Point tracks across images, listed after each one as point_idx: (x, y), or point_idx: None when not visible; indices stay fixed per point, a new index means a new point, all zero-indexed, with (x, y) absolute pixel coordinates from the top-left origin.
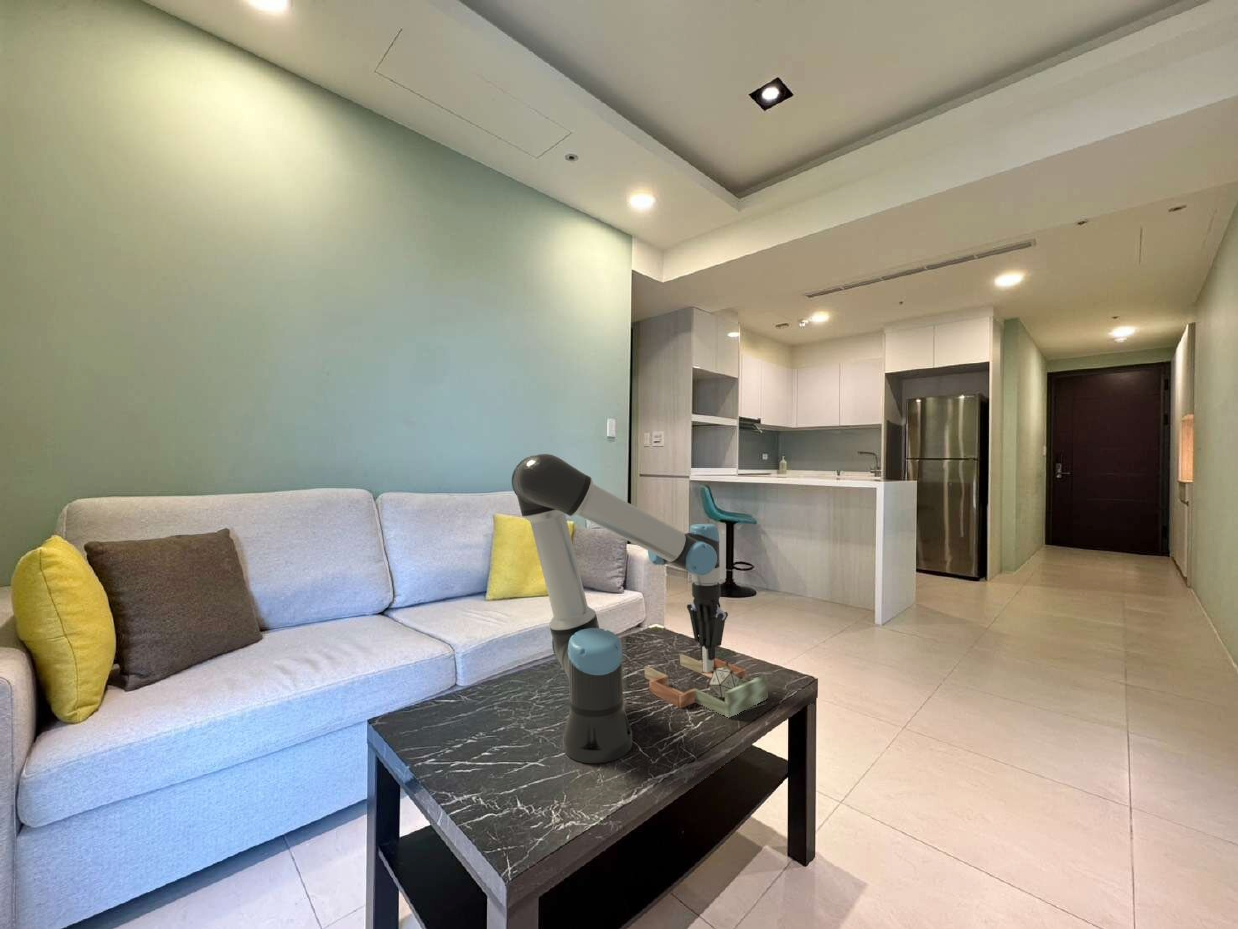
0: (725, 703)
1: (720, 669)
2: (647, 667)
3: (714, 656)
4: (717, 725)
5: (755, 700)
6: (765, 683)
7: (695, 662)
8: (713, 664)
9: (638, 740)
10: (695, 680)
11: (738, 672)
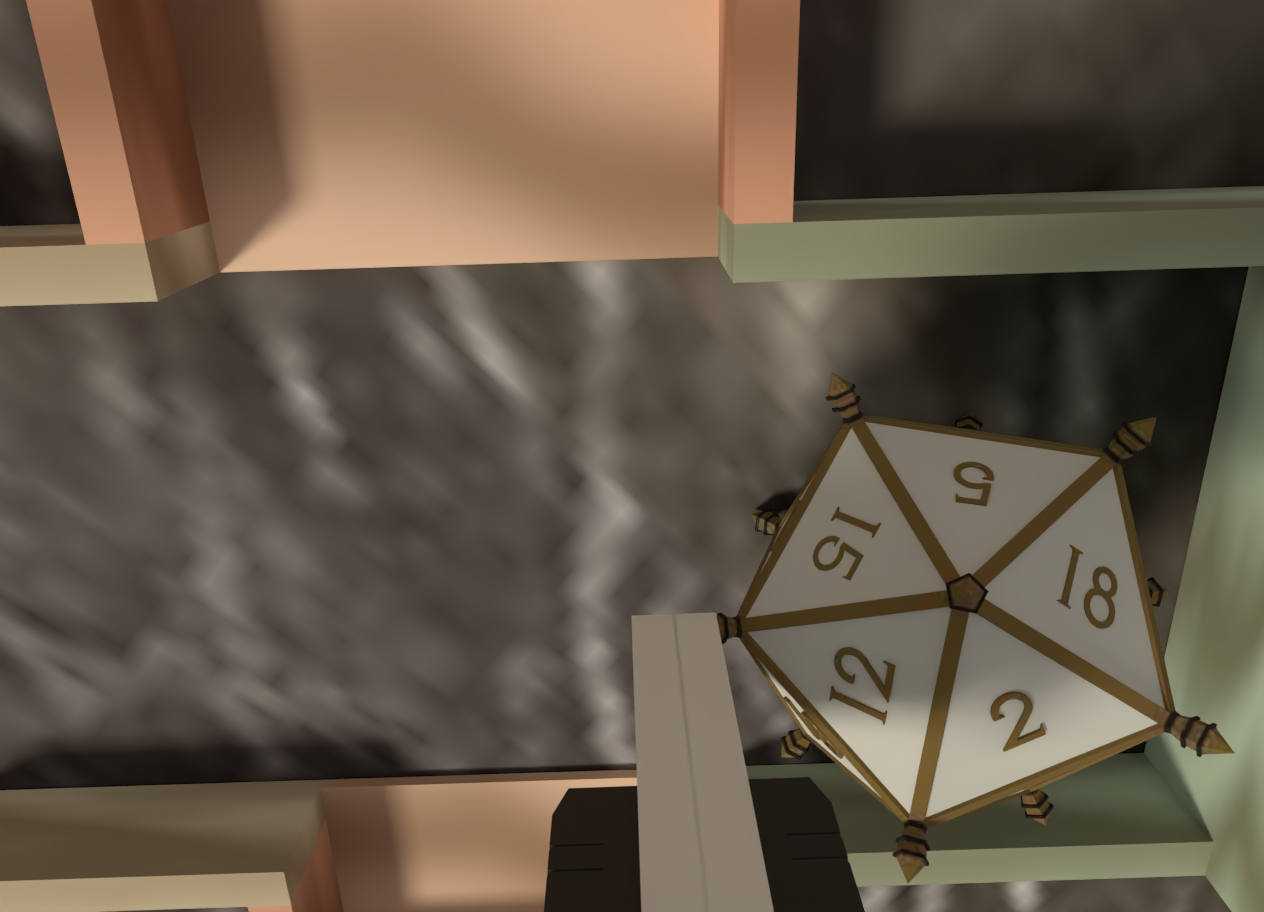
0: (1220, 886)
1: (986, 774)
2: None
3: (837, 837)
4: (1156, 901)
5: None
6: None
7: (24, 302)
8: (725, 670)
9: None
10: (340, 466)
11: (790, 92)
